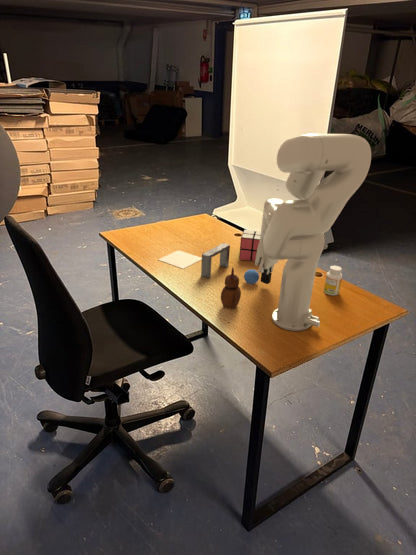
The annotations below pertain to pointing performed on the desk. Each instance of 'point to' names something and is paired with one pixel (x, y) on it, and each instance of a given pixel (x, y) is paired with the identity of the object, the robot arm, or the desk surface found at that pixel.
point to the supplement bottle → (333, 280)
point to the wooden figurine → (231, 291)
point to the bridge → (208, 255)
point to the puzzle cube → (249, 245)
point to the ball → (251, 276)
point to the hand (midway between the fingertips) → (265, 282)
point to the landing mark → (180, 259)
